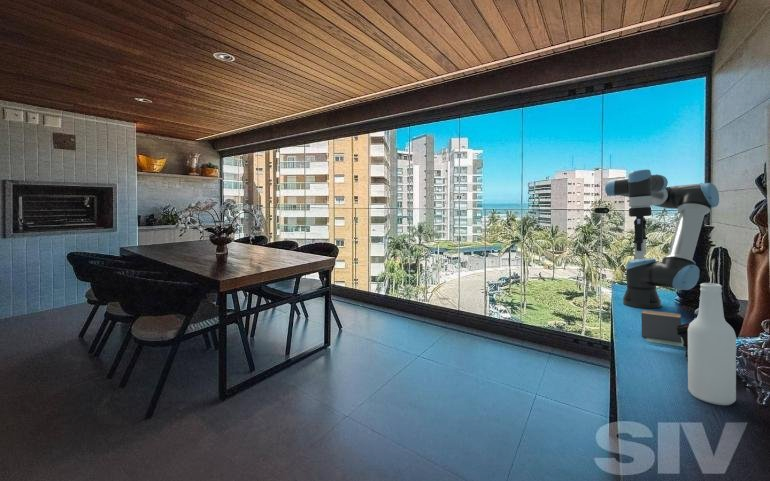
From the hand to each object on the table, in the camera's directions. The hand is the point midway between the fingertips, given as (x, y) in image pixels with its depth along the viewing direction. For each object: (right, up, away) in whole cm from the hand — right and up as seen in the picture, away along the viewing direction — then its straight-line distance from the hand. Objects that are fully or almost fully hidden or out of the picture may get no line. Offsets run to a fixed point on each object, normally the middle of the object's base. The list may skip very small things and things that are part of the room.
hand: (640, 256), depth 138 cm
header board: (-3, -30, -17) cm, 35 cm away
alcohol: (-24, -34, -54) cm, 68 cm away
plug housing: (-7, -29, -18) cm, 35 cm away
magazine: (-9, -32, -37) cm, 50 cm away
